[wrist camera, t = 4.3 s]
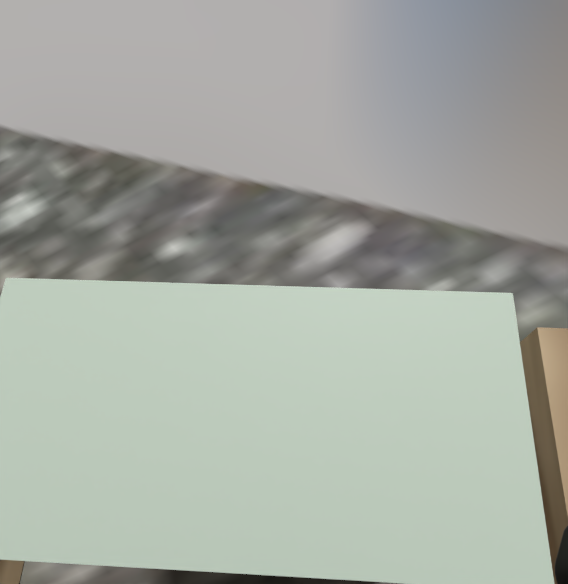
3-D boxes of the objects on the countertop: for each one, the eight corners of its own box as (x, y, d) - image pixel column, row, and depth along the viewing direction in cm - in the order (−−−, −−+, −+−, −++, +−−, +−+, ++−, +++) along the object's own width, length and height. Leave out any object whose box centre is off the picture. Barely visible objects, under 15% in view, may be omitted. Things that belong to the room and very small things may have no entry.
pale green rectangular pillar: (183, 538, 16) (-78, 554, 5) (194, 437, 17) (6, 277, 6) (380, 548, 16) (555, 592, 5) (377, 446, 17) (512, 293, 6)
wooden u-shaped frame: (-78, 763, 14) (-135, 798, 12) (35, 330, 19) (7, 309, 17) (640, 821, 13) (695, 868, 11) (558, 349, 18) (586, 329, 16)
